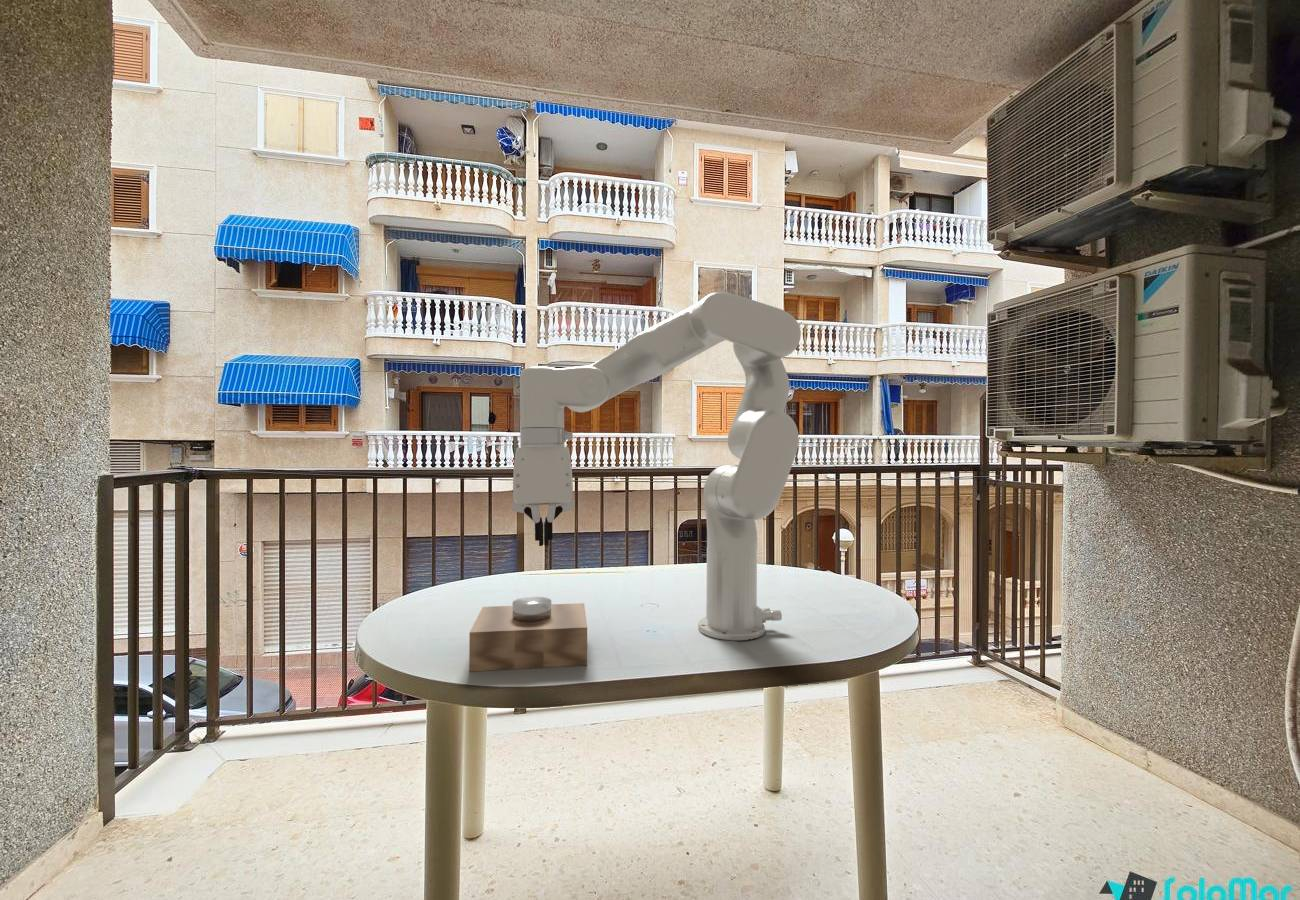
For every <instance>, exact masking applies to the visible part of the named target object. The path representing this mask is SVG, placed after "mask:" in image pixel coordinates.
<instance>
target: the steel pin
mask: <svg viewBox="0 0 1300 900" xmlns="http://www.w3.org/2000/svg"><path fill="white" fill-rule="evenodd" d="M551 604H552V599H551V598H548V597H544V596H524V597H521V598H517V599H515V600H513V601H512V606H513V616H512V618H513V620H515V621H519V622H539V621H544V620H547V619H549V618H550V617H551Z"/></svg>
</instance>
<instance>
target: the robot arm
mask: <svg viewBox="0 0 1300 900" xmlns="http://www.w3.org/2000/svg"><path fill="white" fill-rule="evenodd" d="M801 331H802V330H801V327H800V325H799V322H798V320H797V319H796V317H794V316H793V315H792V314H791V313H789V312H787V311H786V310H784V309H781V308H778V307H776V306H772V305H769V304H766V303H763V302H760V301H756V300H754V299H750V298H748V297H744V296H741V295H738V294H735V293H730V292H726V291H715V292H712V293H710V294H707V295H706V296H704V297H703V298H701V299H700V300H699V301H698V302H697V303H695V304H693V305H691V306H689V307H687V308H686V309H683V310H682V311H680V312H678V313H676V314H674V315H672V316H671V317H668V318H667V319H665V320H663V321H660V322H659V323H657V324H655V325H653V326H651V327H649V328H647V329H645V330H644V331H642V332H640V333H638V334H637V335H635V336H633V337H632V338H631V339H629V340H628V341H627V342H625V343H624V344H623V345H621V347H619V348H618V349H616V350H614V351H613V352H611V353H610V354H608V355H606V356H605V357H602V358H601V359H599V360H598V361H596V362H594V363H592V364H589V365H581V366H580V365H579V366H573V367H562V368H556V367H550V366H530V367H525V368H524V369H523V370H521V372H520V374H519V418H520V421H519V422H520V423H519V426H520V427H519V428H520V430H519V431H520V432H519V433H520V434H519V437H520V440H519V442H520V447H516V450H515V454H514V462H513V477H512V478H513V480H512V496H513V497H512V498H513V502H512V505H511V511H513V512H515V513H520V514H524V515H526V516H527V517H528V518H530V519H531V520H532V522H534V540H535V542H536V541H538V546H539V547H542V546H545V547H547V546H549V543H550V542H549V541H554V540H553V539H554V538H553V536H554V535H553V523H554V520H555V519H557V517H559V516H560V515H561V513H564V512H568V511H571V510H574V509H575V506H576V505H575V502H574V499H573V493H574V491H573V489H574V488H573V470H572V460H571V457H572V456H571V453H570V452H571V451H570V448H569V446H565V442H567V441H572V440H573V436H574V435H573V431H572V432H571V431H570V432H569V431H567V430H565V407H567V408H568V409H569V410H571V411H573V412H576V413H586V412H589V411H591V410H594V409H597V408H599V407H601V406H602V405H603V404H604V403H605V402H607V401H609V400H610V399H613V398H614V397H616V396H618V395H620V394H622V393H624V392H625V391H628V390H629V389H631V388H634V387H635V386H638V385H640V384H643V383H646V382H649V381H651V380H653V379H656V378H657V377H659V376H662V375H663V374H665V373H667V372H669V371H670V370H673V369H675V368H676V367H678V366H680V365H681V364H683V363H685V362H687V361H689V360H691V359H693V358H694V357H696V356H698V355H700V354H702V353H703V352H706V351H707V350H708V349H709V350H710V349H711V348H712V347H715V346H717V345H718V344H720V343H723V342H725V341H727V342H729V343H732V348H733V352H734V355H735V357H736V359H737V360H738V362H739V364H740V365H741V367H742V369H743V372H744V376H745V384H744V389H743V393H742V396H741V399H740V402H739V405H738V407H737V410H736V413H735V415H734V419H733V420H732V423H731V426H730V428H729V431H728V436H727V447H728V449H729V451H730V453H731V454H732V455H733V456H734V457H736V458H737V459H740V460H739V462H738V464H725V465H721V466H718V467H716V468H715V469H713V470H712V471H711V472H710V474H709V475H707V478H706V480H705V481H704V486H703V505H704V511H705V512H704V513H705V518H706V519H705V520H706V606H705V607H706V609H705V610H706V615H705V616H706V617H703V618H702V619H700V620H699V621H698V626H697V627H698V630H699V632H700V633H702V634H703V635H705V636H707V637H710V638H714V639H719V640H724V641H749V639H750V640H755V639H757V638H760V637H762V636H763V635H764V634H765V633H766V627H765V623H767V621H771V622H776V621H782V618H783V617H782V616H783V615H782V612H781V610H780V609H776V610H774V609H773V610H771V609H770V608H769V607H768V608H767V607H766V608H765V607H764V608H761V607H759V606H758V602H757V601H758V600H757V598H758V593H757V592H758V589H757V588H758V585H757V584H758V582H757V581H758V575H757V574H758V532H757V525H756V521H759V520H761V519H762V520H763V519H764V518H766V517H768V516H769V515H770V514H771V513H772V512H774V510H775V509H776V507H777V505H778V503H779V502H780V499H781V497H782V494H783V491H784V489H785V487H786V484H787V480H788V478H789V475H790V472H791V469H792V466H793V464H794V461H795V458H796V456H797V451H798V447H799V431H798V427H797V425H796V422H795V420H793V418H792V417H791V416H790V415H789V414H787V413H786V412H785V409H786V405H787V401H788V398H789V393H790V381H789V380H790V378H789V375H788V372H787V370H786V367H785V365H784V363H783V360H782V359H783V358H785V357H787V356H789V355H791V354H792V353H794V351H795V350H796V349H797V348H798V346H799V344H800V341H801V336H802V332H801ZM540 505H542V506H543V505H545V506H546V505H548V508H547V514H546V517H545V518H544V520H545V521H543V518H542V516H541V514H540V507H539V506H540ZM764 632H765V633H764ZM754 638H755V639H754Z"/></svg>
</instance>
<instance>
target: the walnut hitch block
mask: <svg viewBox="0 0 1300 900" xmlns="http://www.w3.org/2000/svg"><path fill="white" fill-rule="evenodd" d="M512 616H513V605H500V606H499V605H497V606H482V607H481V610H480V611H479V614H478V615H477V618H476V619H475V621H474V622H473V625H472V627H471V629H470V631H469V649H468V651H469V658H468V659H469V660H468V661H469V662H468V664H469V665H468V666H469V667H468V668H469V669H468V671H469V672H484V671H500V670H501V671H502V670H503V671H504V670H520V669H523V670H524V669H539V668H541V669H542V668H559V667H560V668H561V667H563V668H564V667H579V666H587V665H588V623H587V615H586V607H585V603H583V602H577V603H555V604H553V603H551V617H550V618H549V619H547V620H544V621H539V622H519V621H515V620H513V618H512Z"/></svg>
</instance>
